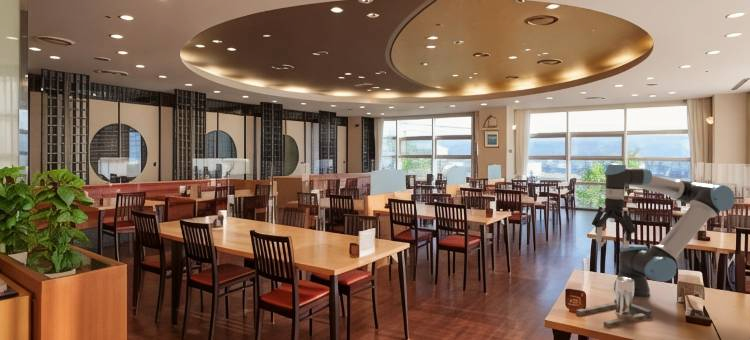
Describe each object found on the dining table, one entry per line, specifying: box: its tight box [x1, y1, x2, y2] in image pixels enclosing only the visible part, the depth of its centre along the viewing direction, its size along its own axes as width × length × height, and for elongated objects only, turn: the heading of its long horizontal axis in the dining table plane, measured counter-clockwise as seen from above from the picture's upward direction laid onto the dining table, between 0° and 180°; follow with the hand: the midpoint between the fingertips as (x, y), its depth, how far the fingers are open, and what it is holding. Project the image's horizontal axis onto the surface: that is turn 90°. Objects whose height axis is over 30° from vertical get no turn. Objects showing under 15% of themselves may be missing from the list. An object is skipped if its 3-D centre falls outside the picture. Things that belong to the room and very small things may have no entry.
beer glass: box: [614, 276, 635, 317], centre depth 185 cm, size 7×7×15 cm
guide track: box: [575, 299, 653, 329], centre depth 183 cm, size 26×15×3 cm, turn 114°
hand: (612, 244), depth 197 cm, fingers open, 13 cm apart
